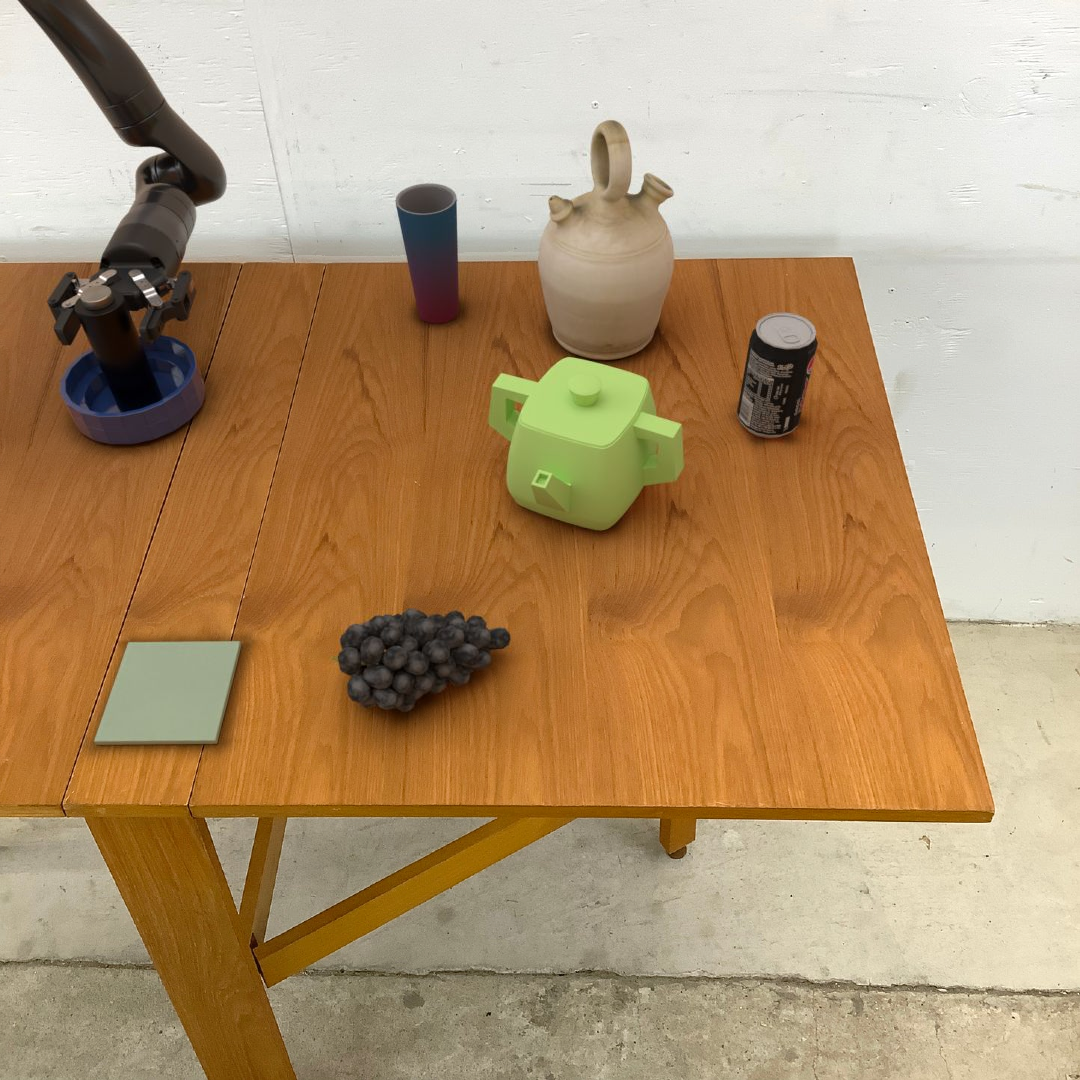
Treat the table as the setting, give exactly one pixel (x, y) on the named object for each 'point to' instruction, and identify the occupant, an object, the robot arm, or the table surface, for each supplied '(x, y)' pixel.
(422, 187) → the cup
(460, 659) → the fruit
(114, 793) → the table surface
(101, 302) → the bottle
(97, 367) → the bowl
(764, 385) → the beverage can
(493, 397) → the teapot
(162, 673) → the mat
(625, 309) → the jug
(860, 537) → the table surface
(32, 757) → the table surface
